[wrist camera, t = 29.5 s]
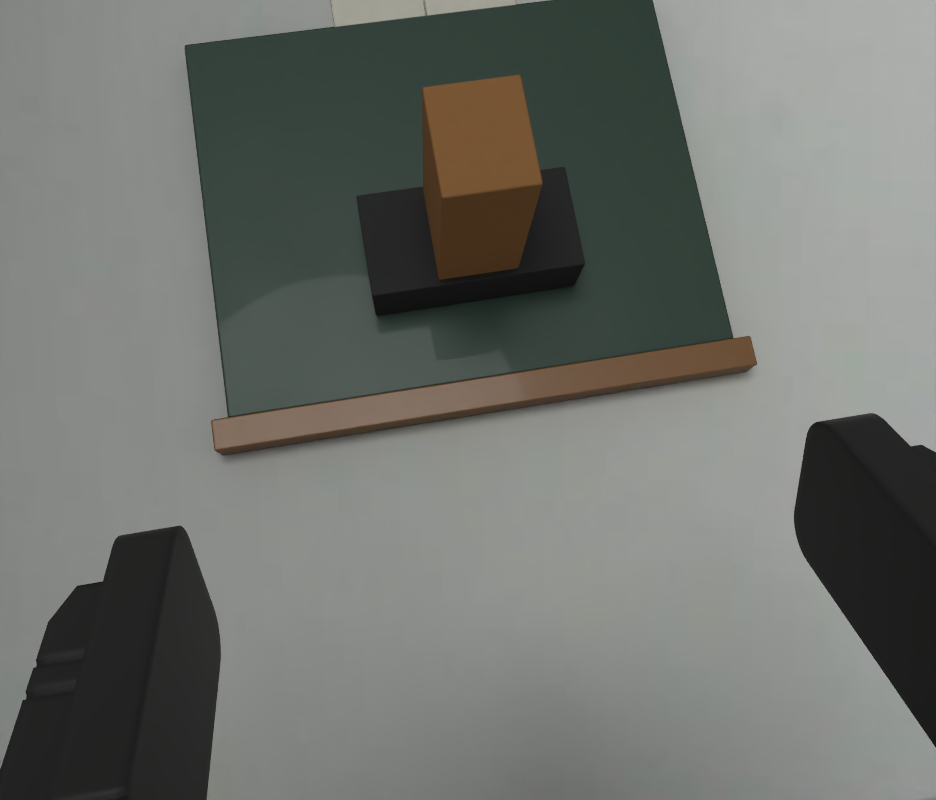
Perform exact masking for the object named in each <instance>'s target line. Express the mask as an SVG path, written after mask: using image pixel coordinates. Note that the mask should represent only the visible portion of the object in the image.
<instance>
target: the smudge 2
mask: <svg viewBox="0 0 936 800" xmlns="http://www.w3.org/2000/svg"><path fill="white" fill-rule="evenodd" d="M424 4H425V10H426V16H427V15H435V14H443V13H452V12H460V11H468V10H476V9H484V8H492V7H501V6H509V5H517V4H516V0H424Z"/></svg>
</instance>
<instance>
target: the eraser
mask: <svg viewBox="0 0 936 800" xmlns="http://www.w3.org/2000/svg"><path fill="white" fill-rule="evenodd" d="M422 123H423V186H422V187H415V188H408V189H401V190H394V191H387V192H380V193H373V194H365V195H358V196H357V197H356V199H357V205H358V212H359V218H360V224H361V231H362V237H363V243H364V250H365V256H366V262H367V269H368V275H369V281H370V288H371V294H372V299H373V304H374V309H375V314H376V315H377V316H379V315H386V314H393V313H399V312H406V311H412V310H419V309H426V308H432V307H439V306H446V305H452V304H459V303H465V302H472V301H479V300H485V299H492V298H498V297H505V296H512V295H518V294H525V293H531V292H538V291H545V290H551V289H558V288H564V287H571V286H574V285H575V283H576V281H577V279H578V277H579V275H580V273H581V271H582V269H583V267H584V265H585V260H584V255H583V250H582V245H581V241H580V236H579V231H578V226H577V222H576V217H575V212H574V207H573V203H572V198H571V193H570V188H569V184H568V179H567V174H566V169H565V167H558V168H551V169H544V170H540V167H539V162H538V157H537V152H536V147H535V142H534V138H533V133H532V128H531V123H530V118H529V113H528V108H527V103H526V98H525V93H524V89H523V84H522V79H521V76H520V75H513V76H505V77H497V78H490V79H482V80H475V81H467V82H459V83H452V84H444V85H437V86H429V87H424V88H423V89H422Z"/></svg>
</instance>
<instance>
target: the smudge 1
mask: <svg viewBox="0 0 936 800" xmlns="http://www.w3.org/2000/svg"><path fill="white" fill-rule="evenodd" d="M331 7H332V14H333V20H334V27H337V26H346V25H354V24H362V23H370V22H378V21H386V20H395V19H403V18H411V17H419V16H426V14H425V8H424V2H423V0H331Z"/></svg>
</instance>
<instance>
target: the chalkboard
mask: <svg viewBox="0 0 936 800" xmlns="http://www.w3.org/2000/svg"><path fill="white" fill-rule="evenodd" d="M185 55H186V64H187V72H188V81H189V89H190V98H191V106H192V114H193V123H194V131H195V140H196V148H197V157H198V165H199V174H200V182H201V191H202V199H203V208H204V216H205V225H206V233H207V242H208V250H209V259H210V267H211V276H212V284H213V293H214V301H215V310H216V318H217V327H218V335H219V344H220V352H221V361H222V369H223V378H224V386H225V395H226V403H227V412H228V417H227V418H221V419H214V420H212V421H211V424H212V433H213V442H214V450H215V451H217V452H218V453H220V454H221V455H226V454H232V453H238V452H244V451H251V450H257V449H263V448H270V447H276V446H282V445H288V444H295V443H301V442H307V441H313V440H320V439H326V438H332V437H338V436H345V435H351V434H357V433H364V432H370V431H376V430H382V429H389V428H395V427H401V426H407V425H414V424H420V423H426V422H433V421H439V420H445V419H451V418H458V417H464V416H470V415H476V414H483V413H489V412H495V411H502V410H508V409H514V408H520V407H527V406H533V405H539V404H545V403H552V402H558V401H564V400H571V399H577V398H583V397H589V396H596V395H602V394H608V393H614V392H621V391H627V390H633V389H639V388H646V387H652V386H658V385H665V384H671V383H677V382H683V381H690V380H696V379H702V378H708V377H715V376H721V375H727V374H734V373H740V372H746V371H747V370H749V369H750V368H752V367H753V366H755V365H756V364H757V362H756V358H755V354H754V350H753V345H752V341H751V337H750V336H746V337H739V338H733V335H732V331H731V326H730V322H729V318H728V314H727V310H726V305H725V301H724V297H723V293H722V289H721V285H720V280H719V276H718V272H717V268H716V264H715V259H714V255H713V251H712V247H711V243H710V239H709V234H708V230H707V226H706V222H705V218H704V213H703V209H702V205H701V201H700V197H699V193H698V188H697V184H696V180H695V176H694V172H693V167H692V163H691V159H690V155H689V151H688V147H687V142H686V138H685V134H684V130H683V126H682V122H681V117H680V113H679V109H678V105H677V101H676V96H675V92H674V88H673V84H672V80H671V76H670V71H669V67H668V63H667V59H666V55H665V50H664V46H663V42H662V38H661V34H660V30H659V25H658V21H657V17H656V13H655V9H654V4H653V0H549V1H541V2H533V3H525V4H517V5H509V6H501V7H492V8H484V9H476V10H468V11H460V12H452V13H443V14H435V15H427V16H419V17H411V18H403V19H395V20H386V21H378V22H370V23H362V24H354V25H346V26H337V27H329V28H321V29H313V30H305V31H297V32H289V33H280V34H272V35H264V36H256V37H248V38H240V39H231V40H223V41H215V42H207V43H199V44H191V45H185ZM513 75H520V76H521V79H522V84H523V89H524V93H525V98H526V103H527V108H528V113H529V118H530V123H531V128H532V133H533V138H534V142H535V147H536V152H537V157H538V162H539V167H540V170H544V169H551V168H558V167H565V169H566V174H567V179H568V184H569V188H570V193H571V198H572V203H573V207H574V212H575V217H576V222H577V226H578V231H579V236H580V241H581V245H582V250H583V255H584V260H585V265H584V267H583V269H582V271H581V273H580V275H579V277H578V279H577V281H576V283H575V285H574V286H571V287H564V288H558V289H551V290H545V291H538V292H531V293H525V294H518V295H512V296H505V297H498V298H492V299H485V300H479V301H472V302H465V303H459V304H452V305H446V306H439V307H432V308H426V309H419V310H412V311H406V312H399V313H393V314H386V315H379V316H377V315H376V314H375V309H374V304H373V299H372V294H371V288H370V281H369V275H368V269H367V262H366V256H365V250H364V243H363V237H362V231H361V224H360V218H359V212H358V205H357V199H356V197H357V196H358V195H365V194H373V193H380V192H387V191H394V190H401V189H408V188H415V187H422V186H423V123H422V89H423V88H424V87H429V86H437V85H444V84H452V83H459V82H467V81H475V80H482V79H490V78H497V77H505V76H513Z"/></svg>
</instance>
